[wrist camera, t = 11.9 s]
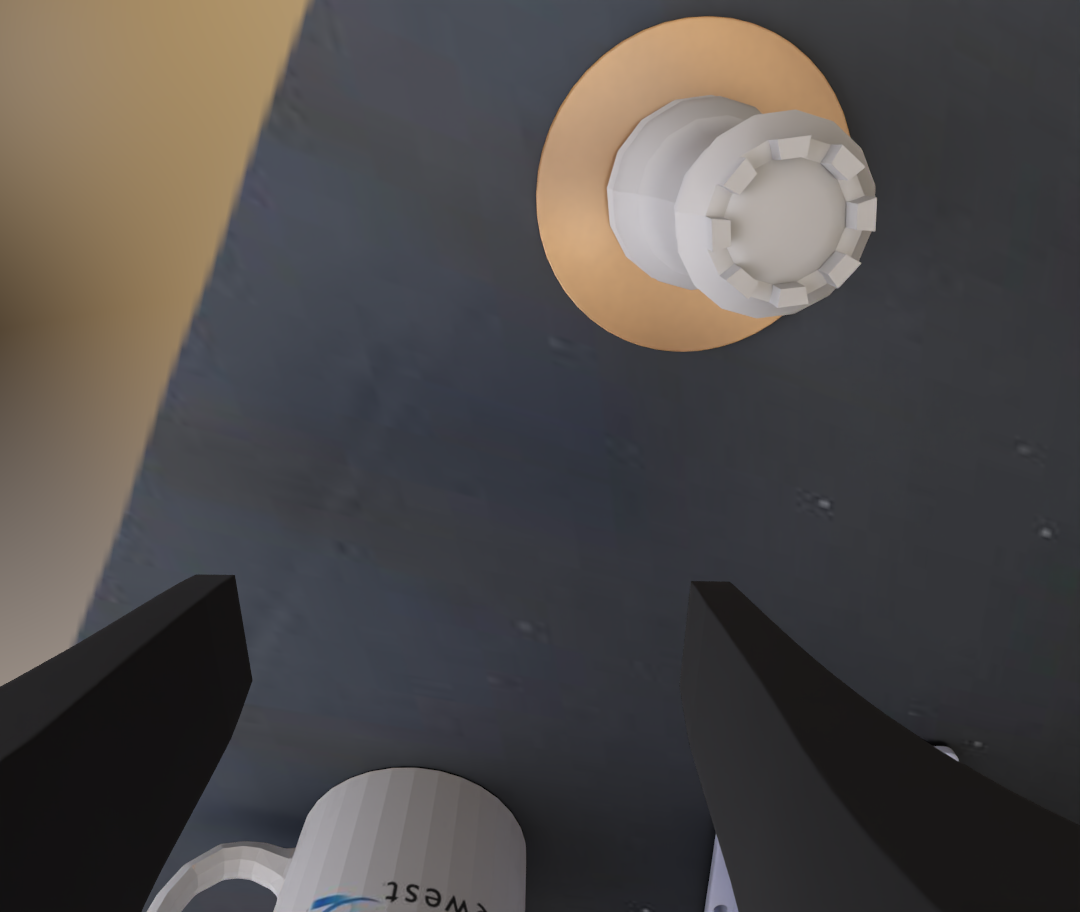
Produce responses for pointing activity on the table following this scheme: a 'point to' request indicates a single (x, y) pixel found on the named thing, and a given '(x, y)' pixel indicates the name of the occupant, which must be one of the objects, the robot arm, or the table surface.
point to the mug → (380, 852)
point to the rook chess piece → (742, 203)
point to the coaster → (602, 128)
